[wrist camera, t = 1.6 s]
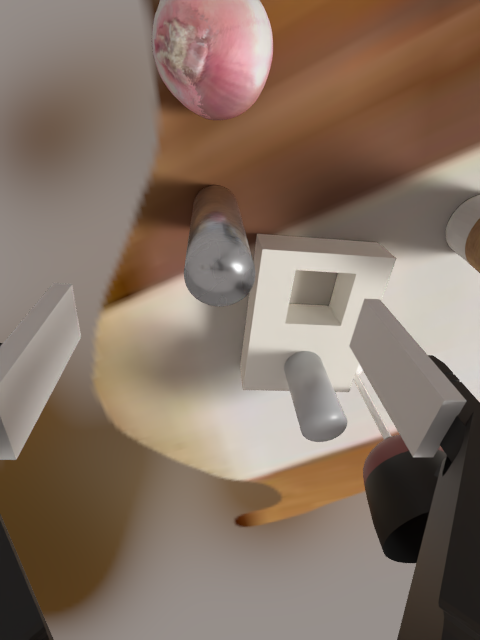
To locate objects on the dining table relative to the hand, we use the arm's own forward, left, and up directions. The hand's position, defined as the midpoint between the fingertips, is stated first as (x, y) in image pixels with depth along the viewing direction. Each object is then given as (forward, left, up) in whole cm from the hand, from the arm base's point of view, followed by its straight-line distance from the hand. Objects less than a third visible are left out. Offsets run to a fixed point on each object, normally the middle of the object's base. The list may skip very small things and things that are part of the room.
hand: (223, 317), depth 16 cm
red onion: (-11, -1, -19) cm, 22 cm away
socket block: (+10, +10, -18) cm, 23 cm away
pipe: (0, 0, -18) cm, 18 cm away
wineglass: (+18, +18, -19) cm, 31 cm away
